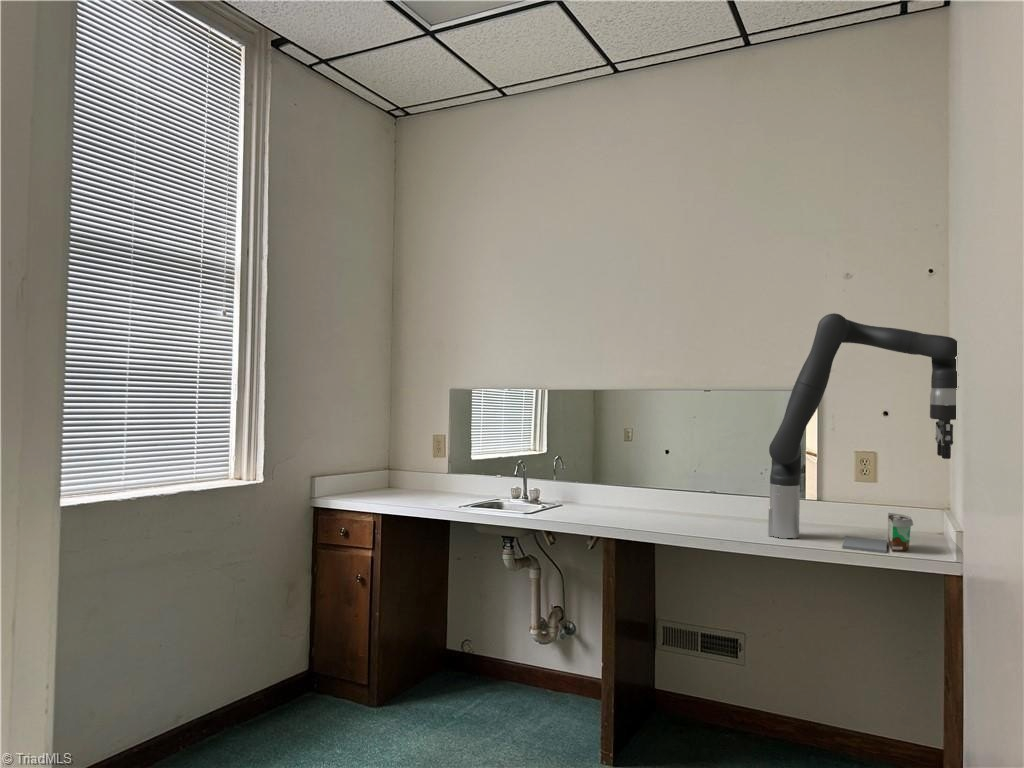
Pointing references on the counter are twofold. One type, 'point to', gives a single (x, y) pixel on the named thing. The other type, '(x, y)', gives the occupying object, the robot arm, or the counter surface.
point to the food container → (899, 532)
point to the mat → (865, 544)
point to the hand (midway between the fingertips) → (943, 457)
